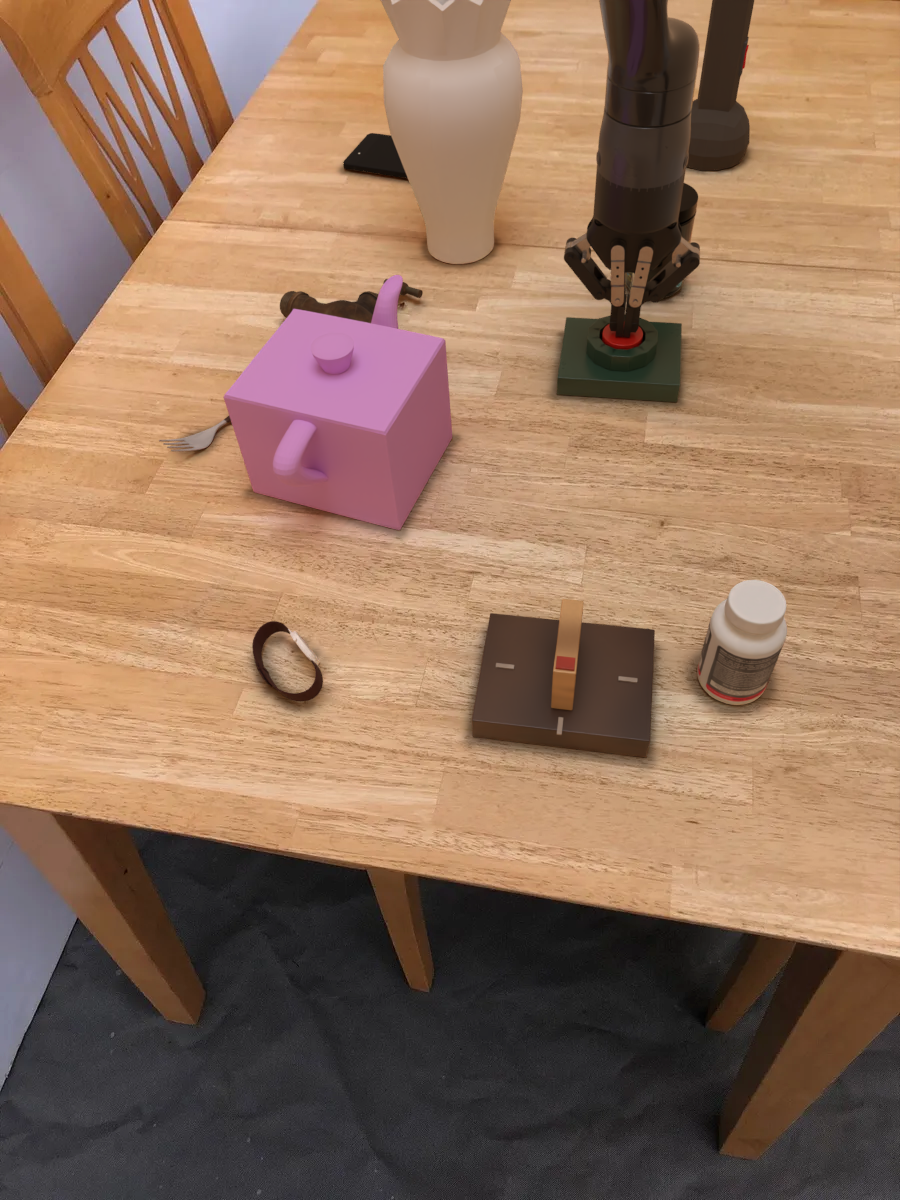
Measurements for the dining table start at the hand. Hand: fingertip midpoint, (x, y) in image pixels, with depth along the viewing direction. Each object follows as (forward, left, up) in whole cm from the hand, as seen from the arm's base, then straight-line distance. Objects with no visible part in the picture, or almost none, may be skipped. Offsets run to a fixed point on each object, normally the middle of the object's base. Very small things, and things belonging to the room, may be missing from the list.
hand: (622, 332), depth 92 cm
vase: (+20, -21, -4) cm, 29 cm away
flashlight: (-9, -45, -4) cm, 46 cm away
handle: (+2, +40, -2) cm, 40 cm away
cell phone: (+29, -40, -4) cm, 50 cm away
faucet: (+28, -4, -4) cm, 29 cm away
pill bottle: (-11, +37, -4) cm, 39 cm away
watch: (+24, +41, -4) cm, 48 cm away
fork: (+38, +12, -4) cm, 40 cm away
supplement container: (-3, -15, -4) cm, 16 cm away
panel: (+2, +40, -4) cm, 40 cm away
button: (0, 0, -2) cm, 2 cm away
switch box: (0, 0, -4) cm, 4 cm away
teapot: (+24, +16, -4) cm, 29 cm away
